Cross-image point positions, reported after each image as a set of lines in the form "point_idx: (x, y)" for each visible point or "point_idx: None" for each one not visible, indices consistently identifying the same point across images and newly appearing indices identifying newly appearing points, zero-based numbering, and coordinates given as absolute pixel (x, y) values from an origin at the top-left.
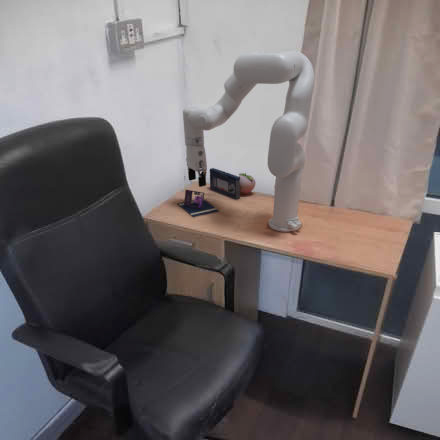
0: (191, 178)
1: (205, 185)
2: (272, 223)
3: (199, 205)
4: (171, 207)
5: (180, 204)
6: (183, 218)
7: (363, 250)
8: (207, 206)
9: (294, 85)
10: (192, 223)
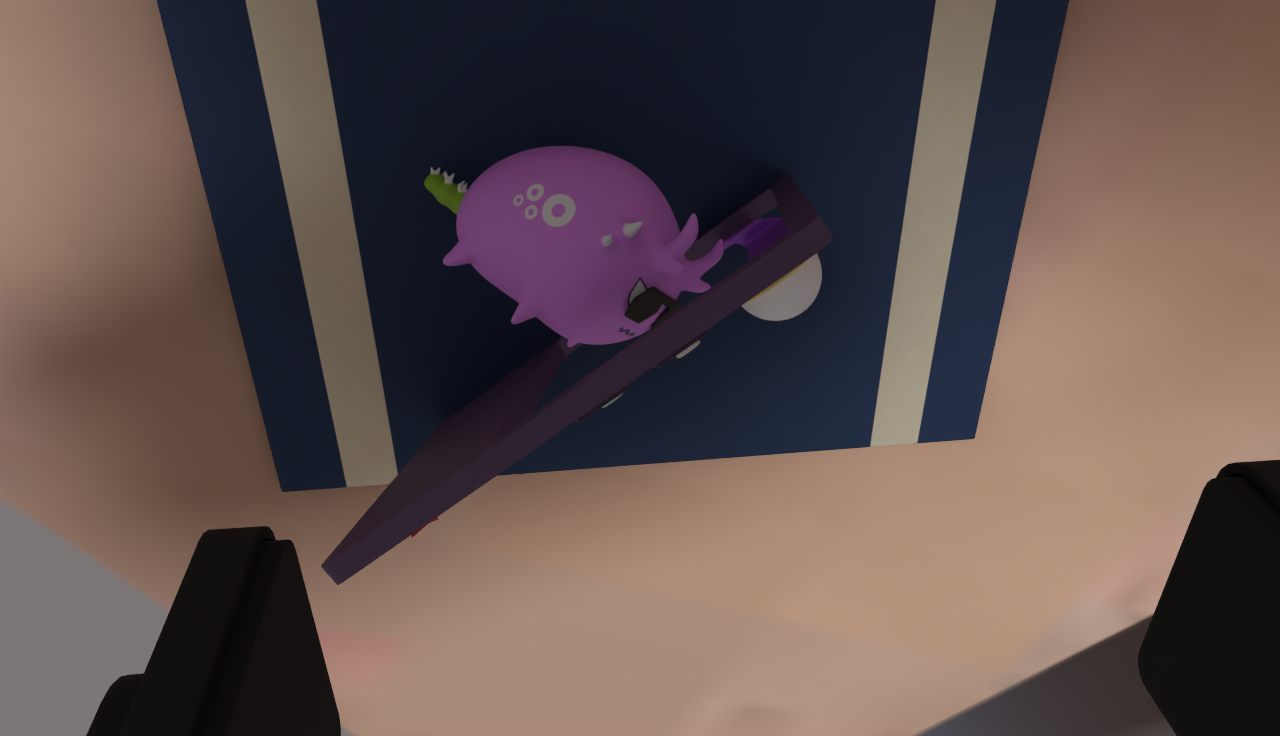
0: (318, 734)
1: (1267, 476)
2: None
3: (750, 246)
4: (400, 596)
5: (366, 467)
6: (915, 557)
7: None
8: (745, 20)
9: None
10: (1152, 504)
